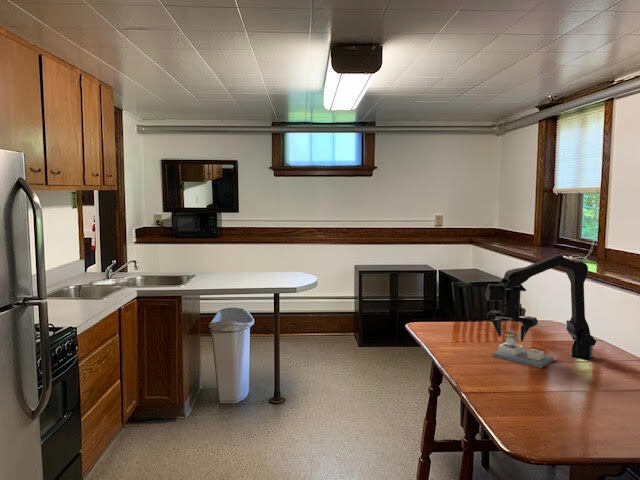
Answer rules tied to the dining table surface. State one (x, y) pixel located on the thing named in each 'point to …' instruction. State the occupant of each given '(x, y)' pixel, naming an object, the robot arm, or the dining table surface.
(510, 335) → the gold capped canister
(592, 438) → the dining table surface
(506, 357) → the board
